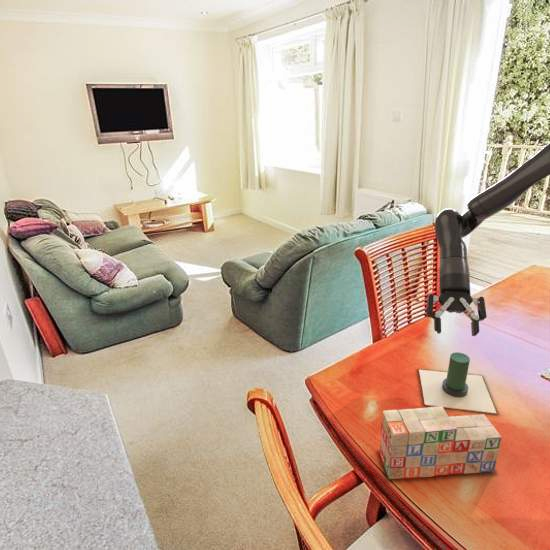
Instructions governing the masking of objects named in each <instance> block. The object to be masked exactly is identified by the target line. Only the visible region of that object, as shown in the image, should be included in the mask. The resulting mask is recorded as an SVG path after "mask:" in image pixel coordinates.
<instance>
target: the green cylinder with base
mask: <svg viewBox="0 0 550 550" xmlns="http://www.w3.org/2000/svg"><path fill="white" fill-rule="evenodd" d="M470 362H471V359H470V356H468V355H467V354H465V353H463V352H452V353H450V355H449V362H448V368H447V372H448V374H447V378H446V379H444V380H443V383H442V389H443V391H444V392H445V393H447V394H448V395H450V396H453V397H464V396H466V395H467V393H468V385H467V384H466V378H467V374H469V373H468V372H469V367H470Z"/></svg>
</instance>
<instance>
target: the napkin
mask: <svg viewBox="0 0 550 550" xmlns="http://www.w3.org/2000/svg"><path fill="white" fill-rule="evenodd" d="M418 374H419V380H420V384H421V385H420V386H421V391H422V396H423V403H424V406H428V407H438V406H442V407H443V408H444V409H452V410H453V409H454V410H460V411H469V412H479V413H486V414H493V415H497V414H498V413H497V411H496V407H495V405H494V403H493V400H492V398H491V396H490V393H489V390H488V388H487V385H486V383H485V381H484V378H483V376H482V375H480V374H479V375H478V374H469V373H467V378H466V384H467V385H468V393H467V395H466V396H464V397H453V396H450V395H448V394H447V393H445V392H444V391H443V389H442V383H443V380H444V379H446V378H447V374H448V371H437V370H427V369H418Z"/></svg>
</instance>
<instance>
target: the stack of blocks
mask: <svg viewBox="0 0 550 550" xmlns="http://www.w3.org/2000/svg"><path fill="white" fill-rule="evenodd" d="M381 418H382V420H381V421H382V422H381V423H380V425H381V426H380V448H379V455H380V458H381V459H380V460H381V461H382V464H383V466H384V468H385V472H386V475H387V479H388V480H396V479H397V480H399V479H416V478H417V479H418V478H430V477H435V476H436V477H437V476H447V475H460V474H464V475H465V474H466V475H467V474H479V473H490V472H495V468H496V464H497V460H498V457H499V453H500V446H501V442H502V436H501V434H500V433H499V431H498V430H497V429H496V428H495V426H494V425H493V424H492V423H491V422H490V419H488V417H487V416H486V414H484V413H482V414H470V415H469V414H465V415H456V416H454V415H452V416H449V415H448V413H447V412H446V409H445V408H444V407H442V406H438V407H436V406H428V407H418V408H417V407H416V408H404V409H388V410H387V409H386V410H385V409H384V410H383V411H382V417H381Z"/></svg>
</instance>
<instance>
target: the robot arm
mask: <svg viewBox="0 0 550 550" xmlns="http://www.w3.org/2000/svg"><path fill="white" fill-rule="evenodd" d="M549 176H550V142H549V143H548V144H546V145H545V146H544V147H543V148H542V149H540V150H539V151H538V152H537V153H535V154H534V155H533V156H532V157H531V158H529V159H528V160H527V161H525V162H524V163H522V164H521V165H520V166H519V167H517V168H515V170H513V171H512V172H511V173H509V174H508V175H506V176H505V177H504V178H502V179H501V180H498V181H497V182H496V183H495V184H493V185H491V186H489V187H488V188H486V189H485V190H483V191H481V192H480V193H478V194H476V195H475V196H473V197H472V198H470V199H469V200H468V201H467V203H466V205H467V210H465V212H463V213H462V214H460V213H459V212H458V211H457V210H456V209H453V208H445V209H441V211H439V213H438V214H437V215H436V217H435V220H434V231H435V237H436V240H437V241H436V242H437V244H438V247H439V268H438V276H439V277H438V279H439V295H434V294H433V293H430V294H428V296H427V301H426V317H427V318H431V319H433V329H434V332H436V333H437V334H438V335H439V334H441V333H442V318H441V316H443V314H444V313H445V312H448V313H449V314H450V313H451V314H452V313H456V314H462V313H463V315H465V316H466V317H467V318H468V319H469V320H470V321H471V323H470V328H471V337H477V335H478V334H479V333H480V322H482V321H485V319H487V317H488V316H487V311H486V310H487V308H486V301H485V297H484V296H479V297H472V295H471V279H470V276H471V272H470V266H469V263H468V262H469V261H468V247H467V244H466V243H465V241H464V240H463V238H465V237H467V236H468V235H470V234H471V233H472V232H473V231H474V230H476V229H477V228H478V227H479V226H480V225H481V224H483V222H484V221H485V220H487V219H489V218H491V217H493V216H494V215H496V214H498V213H500V212H502V211H503V210H505V209H506V208H508V207H509V206H511V205H512V204H513V203H515V202H517V200H518V199H520V198H521V196H523V195H524V194H525V193H526V192H527V191H528V190H529V189H531V188H532V187H533V186H535V185H536V184H538V182H540V181H542V180H544V179H545V178H547V177H549ZM437 301H438V303H439V304H440V305H441V307H440V308H439V309H438V310H437V311H436V312H434V304H436V302H437ZM472 303H473V304H474V307H475V306H476V307H477V308H476V309H477V313H476V312H475V310H474V309H473V308H472V306H470V305H472Z"/></svg>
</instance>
